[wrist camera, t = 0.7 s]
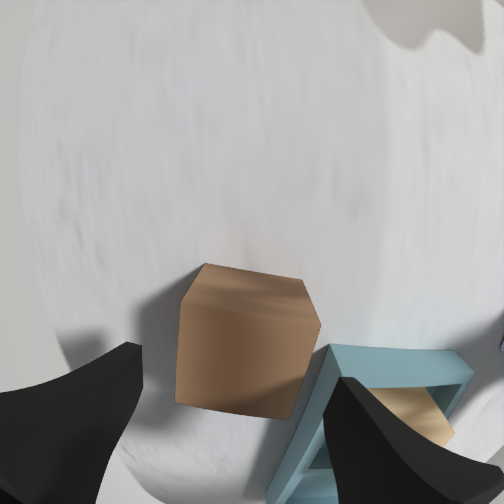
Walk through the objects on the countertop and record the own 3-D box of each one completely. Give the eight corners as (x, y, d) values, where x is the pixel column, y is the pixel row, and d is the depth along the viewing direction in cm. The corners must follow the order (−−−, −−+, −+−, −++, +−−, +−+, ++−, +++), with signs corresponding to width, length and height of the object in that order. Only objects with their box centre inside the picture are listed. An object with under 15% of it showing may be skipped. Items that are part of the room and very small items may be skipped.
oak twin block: (422, 384, 15) (455, 432, 10) (392, 433, 16) (413, 481, 12) (360, 385, 15) (386, 444, 10) (333, 437, 16) (347, 492, 11)
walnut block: (301, 279, 15) (321, 324, 10) (281, 359, 16) (288, 419, 11) (205, 262, 15) (180, 301, 10) (195, 344, 16) (174, 402, 11)
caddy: (453, 350, 16) (475, 372, 13) (361, 488, 20) (367, 509, 17) (329, 343, 16) (342, 374, 13) (265, 491, 20) (266, 516, 17)
